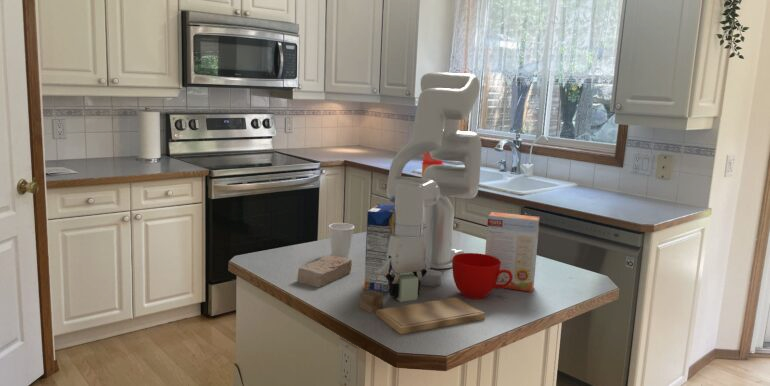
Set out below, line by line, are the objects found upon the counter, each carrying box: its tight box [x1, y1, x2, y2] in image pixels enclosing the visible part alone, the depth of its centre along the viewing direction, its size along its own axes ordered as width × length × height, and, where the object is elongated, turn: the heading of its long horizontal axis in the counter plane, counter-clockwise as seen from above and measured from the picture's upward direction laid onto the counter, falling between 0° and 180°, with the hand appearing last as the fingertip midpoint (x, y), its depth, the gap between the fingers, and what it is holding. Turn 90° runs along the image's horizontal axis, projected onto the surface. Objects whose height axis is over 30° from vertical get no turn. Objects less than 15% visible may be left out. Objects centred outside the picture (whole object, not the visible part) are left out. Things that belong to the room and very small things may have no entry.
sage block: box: [395, 272, 419, 303], centre depth 163 cm, size 5×5×6 cm
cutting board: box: [375, 296, 486, 335], centre depth 150 cm, size 24×12×2 cm, turn 119°
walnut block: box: [359, 290, 384, 314], centre depth 154 cm, size 4×4×4 cm
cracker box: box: [484, 211, 540, 293], centre depth 175 cm, size 14×6×21 cm, turn 71°
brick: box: [296, 254, 353, 288], centre depth 176 cm, size 17×8×5 cm, turn 151°
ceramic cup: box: [451, 252, 513, 300], centre depth 166 cm, size 13×17×10 cm
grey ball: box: [420, 268, 443, 288], centre depth 176 cm, size 7×7×3 cm
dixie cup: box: [328, 222, 355, 258], centre depth 198 cm, size 8×8×10 cm
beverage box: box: [363, 203, 395, 293], centre depth 170 cm, size 7×11×22 cm, turn 164°
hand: (404, 294), depth 163 cm, fingers open, 5 cm apart
